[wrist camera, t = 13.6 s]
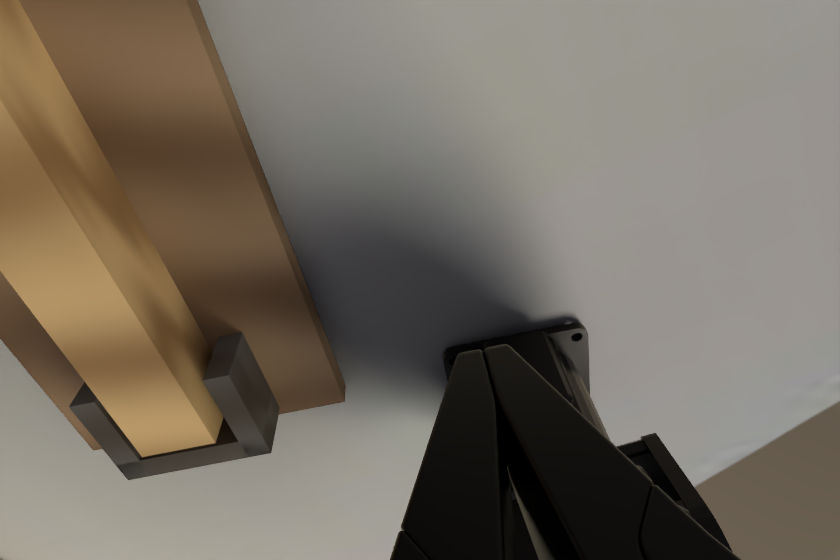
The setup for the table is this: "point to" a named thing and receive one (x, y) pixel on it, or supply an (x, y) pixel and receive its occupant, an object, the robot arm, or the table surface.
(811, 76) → the table surface
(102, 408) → the endcap frame
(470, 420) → the robot arm
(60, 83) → the slat
